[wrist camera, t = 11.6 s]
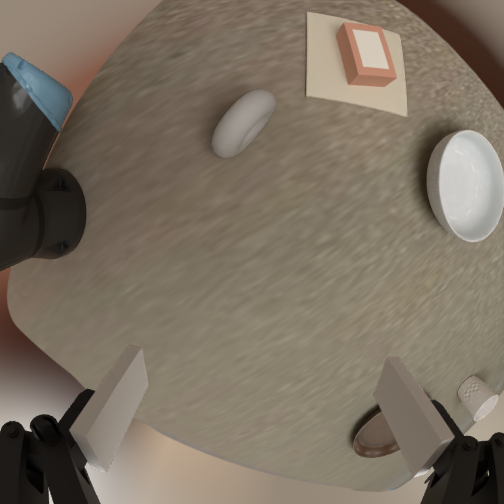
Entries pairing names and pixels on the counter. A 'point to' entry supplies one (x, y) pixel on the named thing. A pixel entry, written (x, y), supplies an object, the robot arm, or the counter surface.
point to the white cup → (477, 397)
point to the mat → (333, 73)
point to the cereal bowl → (466, 185)
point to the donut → (242, 123)
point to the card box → (365, 55)
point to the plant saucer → (375, 437)
